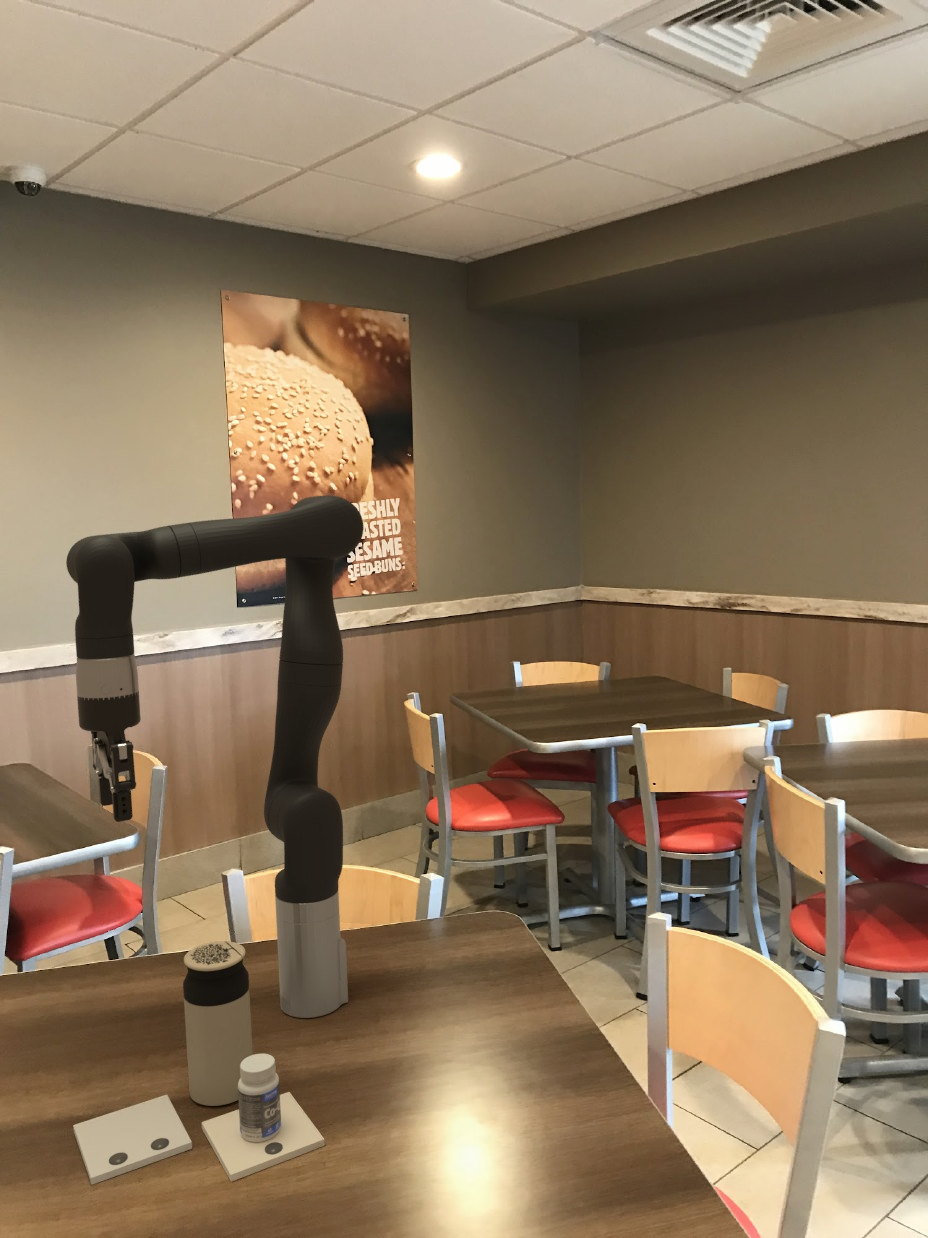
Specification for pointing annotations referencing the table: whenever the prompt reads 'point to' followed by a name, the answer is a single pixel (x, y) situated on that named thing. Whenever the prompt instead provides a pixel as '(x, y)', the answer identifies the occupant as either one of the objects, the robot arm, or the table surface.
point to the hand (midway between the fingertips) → (116, 812)
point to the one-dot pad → (257, 1156)
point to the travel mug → (216, 1021)
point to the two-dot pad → (130, 1138)
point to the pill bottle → (259, 1098)
